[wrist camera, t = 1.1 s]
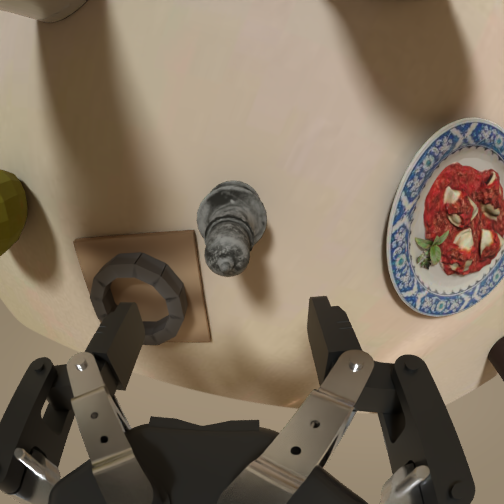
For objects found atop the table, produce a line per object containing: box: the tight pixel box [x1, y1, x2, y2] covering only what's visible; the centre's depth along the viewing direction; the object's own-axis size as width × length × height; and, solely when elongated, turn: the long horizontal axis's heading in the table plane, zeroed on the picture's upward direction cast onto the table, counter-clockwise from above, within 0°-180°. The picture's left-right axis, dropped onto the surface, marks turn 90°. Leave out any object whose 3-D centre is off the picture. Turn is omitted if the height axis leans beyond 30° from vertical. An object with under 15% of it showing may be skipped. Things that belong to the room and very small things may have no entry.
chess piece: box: [197, 181, 267, 277], centre depth 22 cm, size 6×6×12 cm
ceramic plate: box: [386, 117, 504, 317], centre depth 27 cm, size 26×26×3 cm
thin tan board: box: [73, 230, 211, 345], centre depth 30 cm, size 14×14×3 cm
